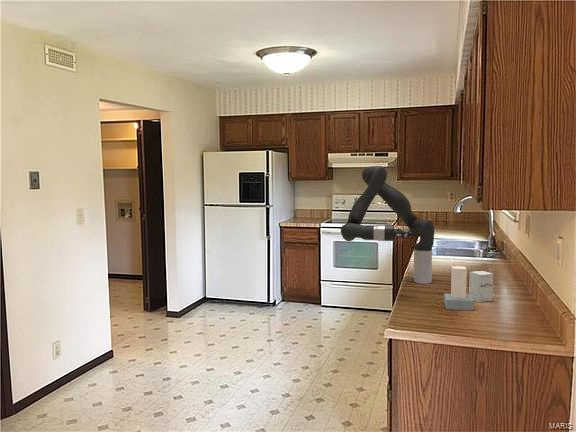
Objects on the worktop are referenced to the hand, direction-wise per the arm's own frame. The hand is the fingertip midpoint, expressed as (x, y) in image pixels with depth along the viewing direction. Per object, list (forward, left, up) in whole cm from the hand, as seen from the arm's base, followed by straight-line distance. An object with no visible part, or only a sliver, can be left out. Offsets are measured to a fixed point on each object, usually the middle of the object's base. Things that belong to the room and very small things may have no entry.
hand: (419, 233), depth 223 cm
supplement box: (0, +27, -30) cm, 41 cm away
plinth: (+13, +16, -30) cm, 36 cm away
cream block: (+13, +16, -26) cm, 33 cm away
